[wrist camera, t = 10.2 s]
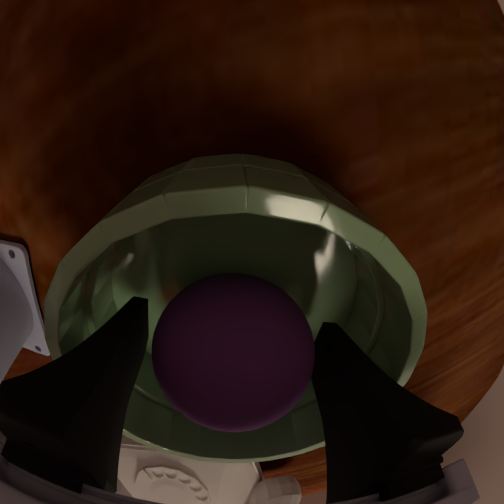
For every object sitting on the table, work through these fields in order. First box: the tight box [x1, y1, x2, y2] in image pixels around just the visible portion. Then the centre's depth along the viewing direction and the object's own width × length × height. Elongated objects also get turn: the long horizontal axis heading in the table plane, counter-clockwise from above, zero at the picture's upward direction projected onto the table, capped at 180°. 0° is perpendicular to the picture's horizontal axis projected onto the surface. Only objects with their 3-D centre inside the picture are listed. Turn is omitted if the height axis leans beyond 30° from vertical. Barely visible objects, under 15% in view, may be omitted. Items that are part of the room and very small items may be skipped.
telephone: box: [116, 434, 302, 504], centre depth 18 cm, size 16×20×9 cm
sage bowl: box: [44, 153, 427, 463], centre depth 11 cm, size 13×13×6 cm
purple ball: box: [152, 273, 315, 432], centre depth 10 cm, size 6×6×6 cm
